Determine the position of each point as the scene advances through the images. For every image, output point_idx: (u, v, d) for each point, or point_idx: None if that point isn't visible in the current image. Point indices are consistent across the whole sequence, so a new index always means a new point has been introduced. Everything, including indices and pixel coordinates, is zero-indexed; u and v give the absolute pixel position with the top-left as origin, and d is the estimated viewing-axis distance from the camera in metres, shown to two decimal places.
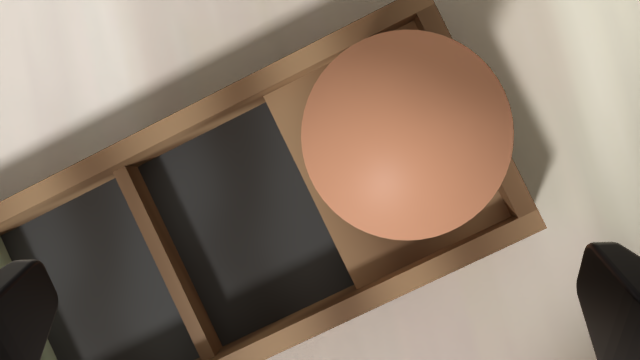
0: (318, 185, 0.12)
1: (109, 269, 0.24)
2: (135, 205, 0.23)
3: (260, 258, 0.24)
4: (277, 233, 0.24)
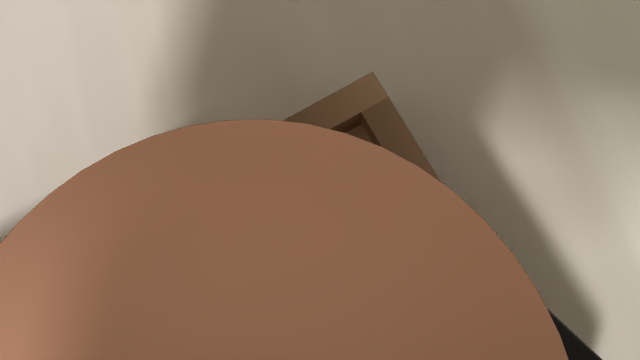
0: None
1: None
2: None
3: None
4: None
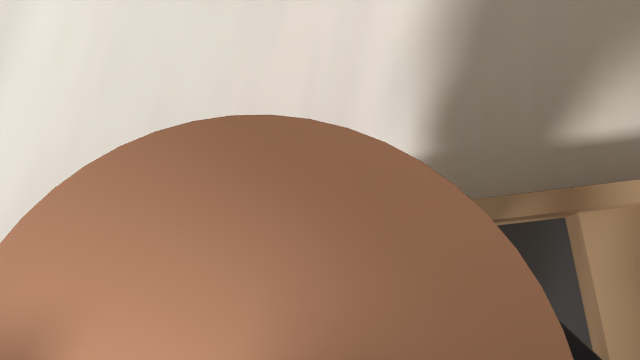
0: None
1: None
2: None
3: None
4: None
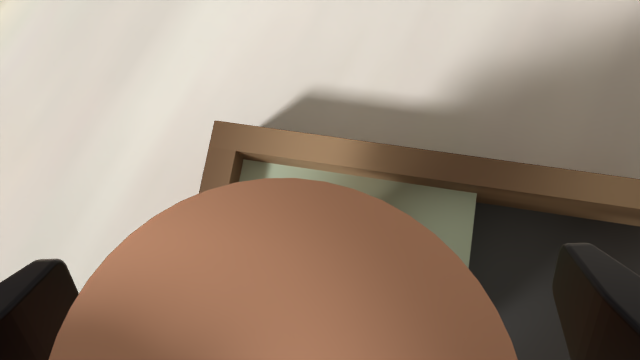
0: None
1: None
2: None
3: None
4: None
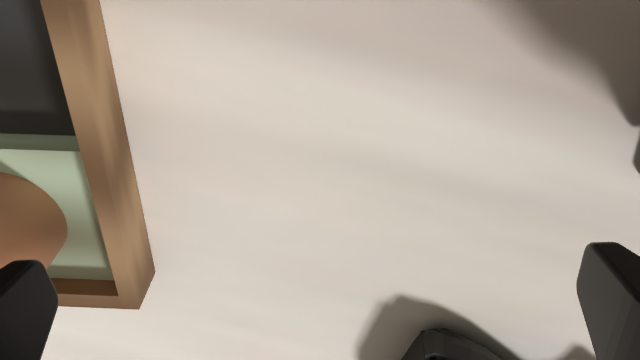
0: None
1: None
2: None
3: None
4: None
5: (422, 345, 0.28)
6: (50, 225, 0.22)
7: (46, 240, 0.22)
